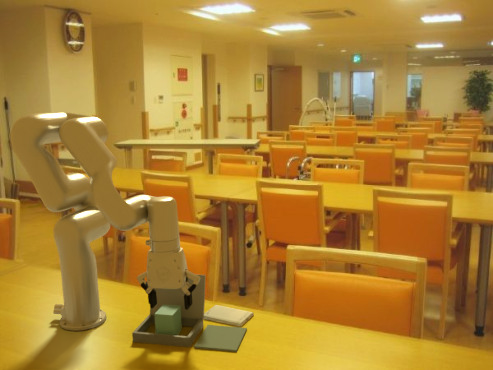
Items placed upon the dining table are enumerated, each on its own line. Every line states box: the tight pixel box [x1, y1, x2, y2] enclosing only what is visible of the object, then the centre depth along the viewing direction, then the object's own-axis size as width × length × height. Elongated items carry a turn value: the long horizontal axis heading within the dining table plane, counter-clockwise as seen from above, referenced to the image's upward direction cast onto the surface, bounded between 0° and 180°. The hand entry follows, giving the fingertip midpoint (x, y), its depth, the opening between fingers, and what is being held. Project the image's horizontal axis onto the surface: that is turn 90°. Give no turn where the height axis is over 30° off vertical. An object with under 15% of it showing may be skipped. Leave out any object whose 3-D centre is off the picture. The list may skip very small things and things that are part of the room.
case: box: [131, 313, 204, 348], centre depth 136 cm, size 16×12×2 cm
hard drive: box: [203, 304, 255, 328], centre depth 146 cm, size 2×8×12 cm
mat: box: [193, 324, 248, 353], centre depth 133 cm, size 11×12×1 cm
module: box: [154, 304, 183, 335], centre depth 136 cm, size 5×6×7 cm
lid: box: [149, 274, 207, 318], centre depth 142 cm, size 16×12×2 cm
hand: (170, 306), depth 135 cm, fingers open, 9 cm apart
